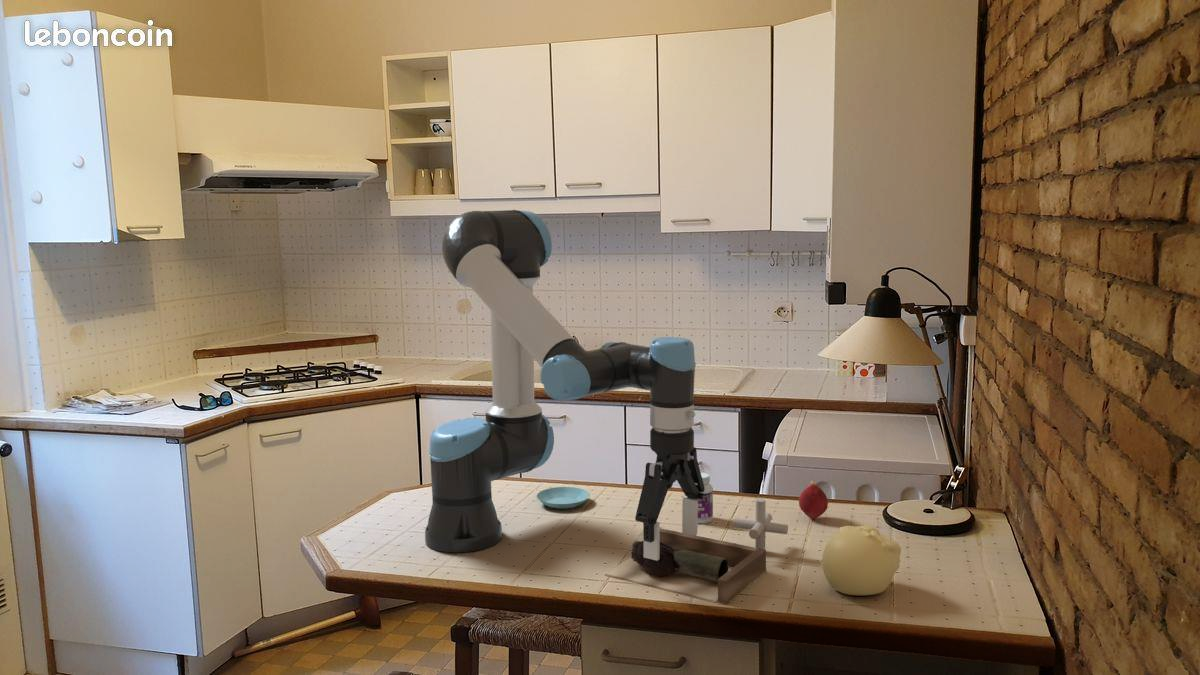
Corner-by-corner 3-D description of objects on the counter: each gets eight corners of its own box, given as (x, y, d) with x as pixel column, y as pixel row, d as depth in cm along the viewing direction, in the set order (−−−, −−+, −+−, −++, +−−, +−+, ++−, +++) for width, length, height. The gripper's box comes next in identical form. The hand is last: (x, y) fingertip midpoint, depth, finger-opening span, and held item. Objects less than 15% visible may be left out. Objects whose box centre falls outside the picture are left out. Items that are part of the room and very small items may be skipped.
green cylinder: (729, 578, 157) (729, 547, 156) (713, 592, 151) (713, 561, 150) (639, 559, 166) (639, 530, 165) (622, 572, 160) (621, 542, 159)
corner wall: (609, 575, 159) (609, 554, 159) (655, 547, 172) (655, 527, 172) (726, 604, 147) (726, 581, 146) (766, 571, 160) (766, 549, 159)
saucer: (598, 499, 203) (597, 489, 202) (576, 516, 192) (576, 505, 192) (550, 494, 207) (550, 484, 207) (527, 510, 196) (527, 500, 196)
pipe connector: (792, 546, 171) (793, 495, 170) (780, 564, 162) (780, 511, 161) (741, 539, 176) (741, 489, 174) (726, 557, 167) (726, 505, 165)
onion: (831, 517, 187) (831, 480, 186) (822, 525, 182) (822, 487, 181) (804, 513, 190) (804, 476, 189) (794, 521, 185) (795, 483, 184)
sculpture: (910, 591, 150) (911, 529, 149) (861, 609, 144) (862, 545, 142) (856, 569, 160) (857, 511, 158) (808, 586, 153) (808, 525, 152)
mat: (604, 575, 160) (604, 573, 159) (636, 555, 169) (636, 553, 169) (715, 602, 147) (715, 601, 147) (744, 579, 156) (744, 577, 156)
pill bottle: (685, 523, 185) (685, 478, 184) (688, 514, 190) (688, 470, 189) (711, 524, 184) (711, 479, 183) (714, 516, 189) (714, 471, 188)
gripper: (653, 447, 142) (653, 574, 145) (724, 416, 162) (722, 528, 166) (614, 440, 146) (614, 564, 149) (687, 410, 167) (686, 520, 170)
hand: (671, 545), depth 157 cm, fingers open, 13 cm apart
